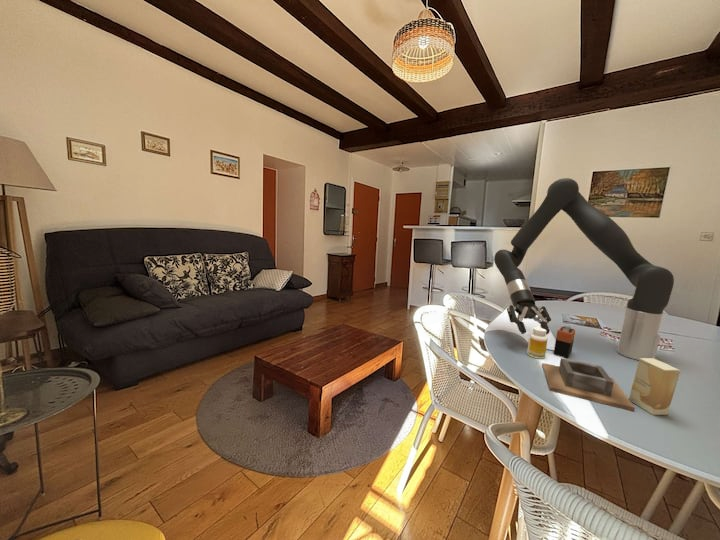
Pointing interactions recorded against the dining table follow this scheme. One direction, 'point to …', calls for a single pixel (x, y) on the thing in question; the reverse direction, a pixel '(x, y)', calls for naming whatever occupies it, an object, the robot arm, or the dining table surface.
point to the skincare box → (654, 386)
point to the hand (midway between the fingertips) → (535, 333)
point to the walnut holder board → (585, 383)
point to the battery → (564, 341)
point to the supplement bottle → (537, 343)
